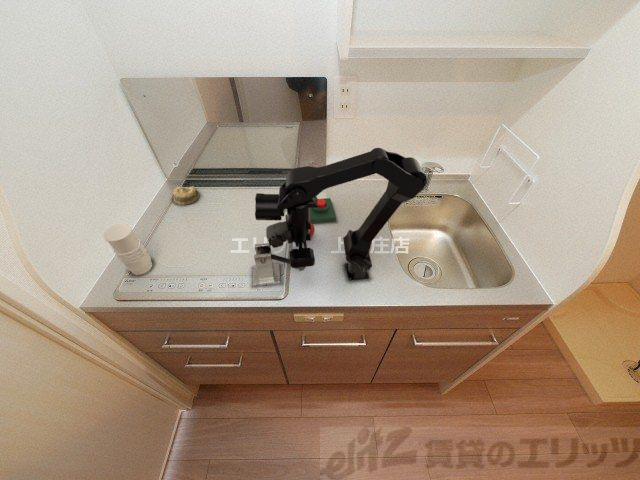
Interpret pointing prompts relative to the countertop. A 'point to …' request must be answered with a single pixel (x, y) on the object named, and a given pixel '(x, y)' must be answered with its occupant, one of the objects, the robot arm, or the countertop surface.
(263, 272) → the bracket
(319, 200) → the button
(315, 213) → the control box
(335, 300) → the countertop surface
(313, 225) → the onion
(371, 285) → the countertop surface
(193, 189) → the cake
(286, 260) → the lever
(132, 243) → the candle
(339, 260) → the countertop surface
